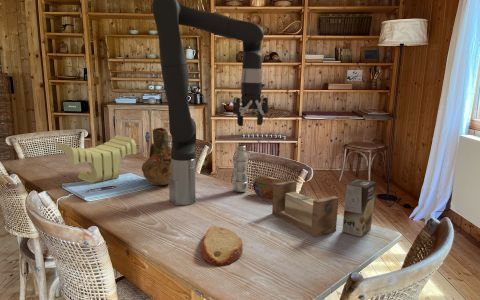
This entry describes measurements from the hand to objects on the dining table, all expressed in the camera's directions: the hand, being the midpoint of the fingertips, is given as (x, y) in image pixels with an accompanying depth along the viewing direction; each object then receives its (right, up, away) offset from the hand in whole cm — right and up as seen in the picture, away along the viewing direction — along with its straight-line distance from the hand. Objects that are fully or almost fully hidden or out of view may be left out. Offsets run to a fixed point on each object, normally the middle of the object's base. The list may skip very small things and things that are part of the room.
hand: (250, 125), depth 137 cm
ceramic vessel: (-38, -25, +25) cm, 52 cm away
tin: (+8, -29, +12) cm, 32 cm away
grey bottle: (-4, -27, +18) cm, 33 cm away
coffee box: (+34, -36, -18) cm, 53 cm away
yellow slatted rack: (-69, -23, +33) cm, 80 cm away
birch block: (+17, -32, -13) cm, 39 cm away
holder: (+17, -34, -13) cm, 40 cm away
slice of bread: (-10, -38, -32) cm, 51 cm away
